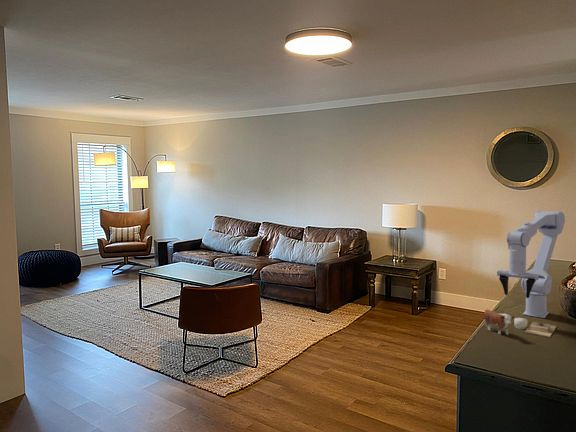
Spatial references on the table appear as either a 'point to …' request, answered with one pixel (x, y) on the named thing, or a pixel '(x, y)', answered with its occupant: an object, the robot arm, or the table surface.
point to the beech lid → (540, 327)
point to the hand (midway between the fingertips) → (516, 295)
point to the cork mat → (540, 333)
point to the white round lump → (520, 323)
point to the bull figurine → (497, 320)
